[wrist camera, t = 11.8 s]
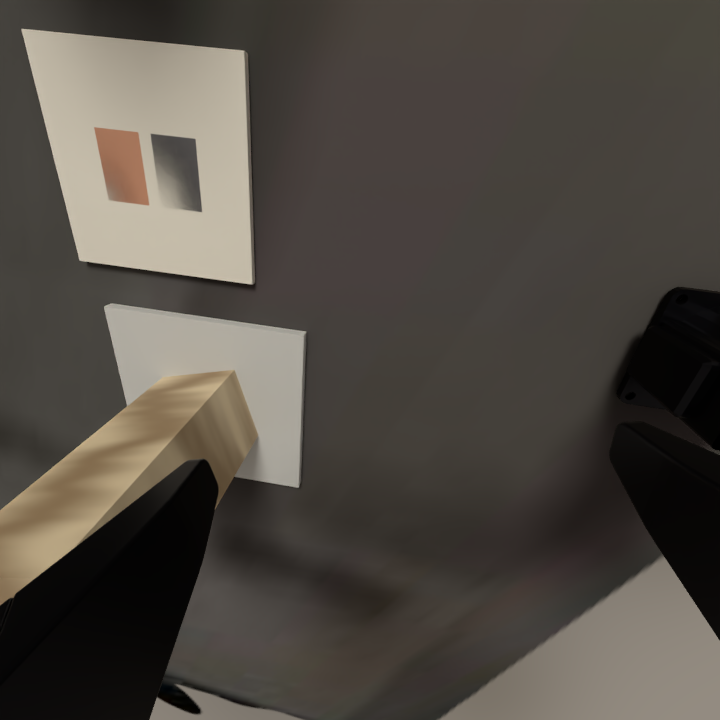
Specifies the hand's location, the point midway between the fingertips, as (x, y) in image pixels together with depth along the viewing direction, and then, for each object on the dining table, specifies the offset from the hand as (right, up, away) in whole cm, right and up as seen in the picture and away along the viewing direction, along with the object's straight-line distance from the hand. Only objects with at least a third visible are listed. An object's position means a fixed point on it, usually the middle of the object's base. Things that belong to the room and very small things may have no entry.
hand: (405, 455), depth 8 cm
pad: (-11, -1, +16) cm, 19 cm away
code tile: (-11, +12, +10) cm, 19 cm away
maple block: (-11, -1, +16) cm, 19 cm away
